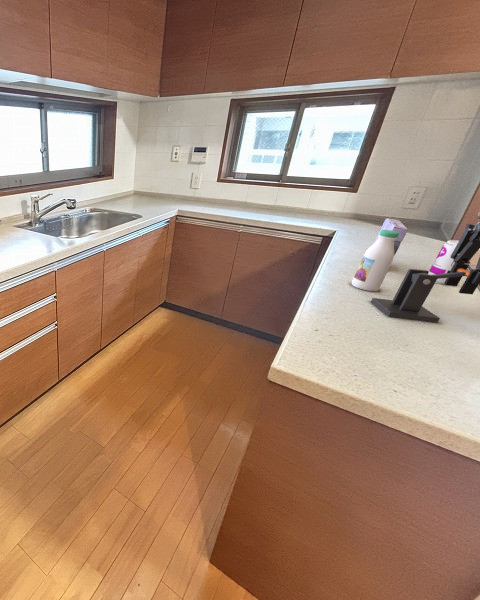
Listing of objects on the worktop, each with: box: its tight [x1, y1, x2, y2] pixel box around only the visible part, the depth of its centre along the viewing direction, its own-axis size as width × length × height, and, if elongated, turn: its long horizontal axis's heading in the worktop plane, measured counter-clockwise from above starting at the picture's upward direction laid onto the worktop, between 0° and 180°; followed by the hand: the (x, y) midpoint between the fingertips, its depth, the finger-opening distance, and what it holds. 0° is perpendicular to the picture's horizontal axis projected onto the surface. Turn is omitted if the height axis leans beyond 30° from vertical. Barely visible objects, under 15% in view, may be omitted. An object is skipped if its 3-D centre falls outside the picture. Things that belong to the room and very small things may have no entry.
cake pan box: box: [373, 217, 409, 257], centre depth 133 cm, size 19×5×18 cm, turn 147°
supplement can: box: [428, 239, 473, 286], centre depth 118 cm, size 8×8×15 cm
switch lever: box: [411, 268, 471, 282], centre depth 91 cm, size 12×5×2 cm, turn 75°
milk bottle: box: [351, 230, 399, 292], centre depth 110 cm, size 8×8×20 cm
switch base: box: [370, 268, 441, 324], centre depth 95 cm, size 12×10×13 cm
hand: (457, 289), depth 92 cm, fingers closed on switch lever, 5 cm apart
